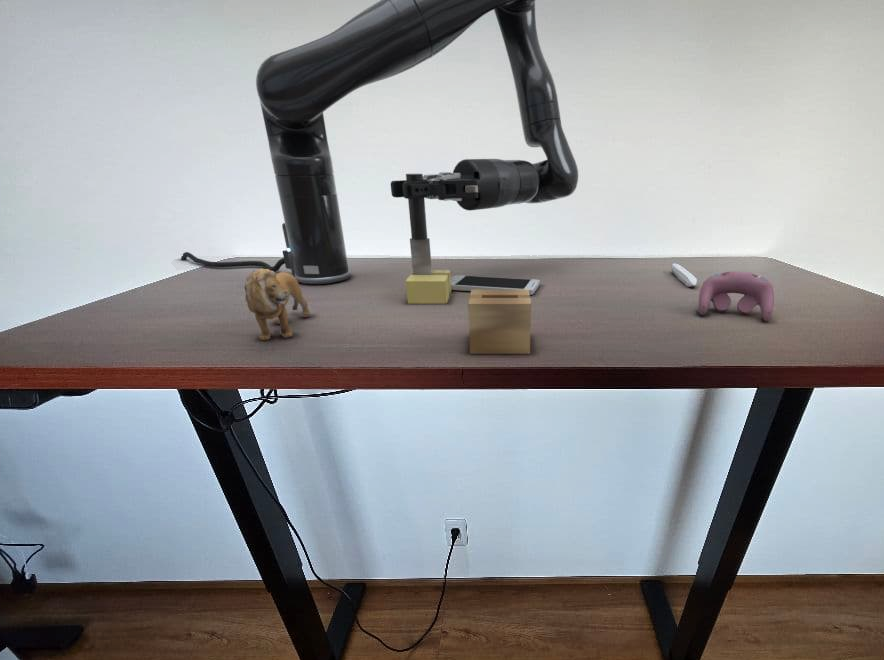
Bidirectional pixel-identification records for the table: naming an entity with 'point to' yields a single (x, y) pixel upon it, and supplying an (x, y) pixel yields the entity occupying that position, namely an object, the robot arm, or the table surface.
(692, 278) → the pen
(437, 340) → the table surface
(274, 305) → the lion figurine
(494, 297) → the knife block
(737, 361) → the table surface
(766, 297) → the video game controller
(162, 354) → the table surface
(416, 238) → the knife
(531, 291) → the smartphone
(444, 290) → the butter
